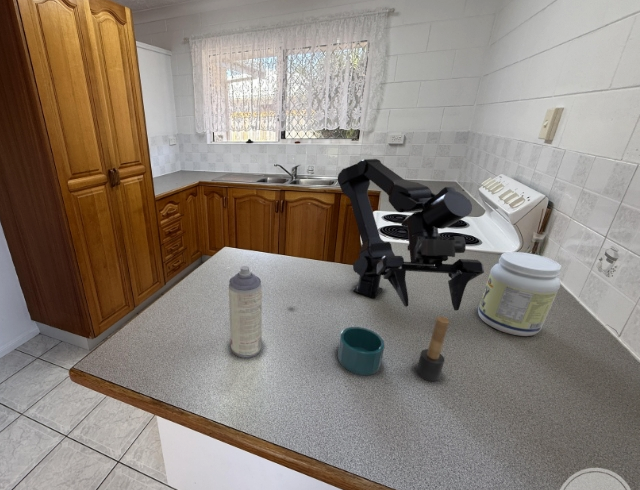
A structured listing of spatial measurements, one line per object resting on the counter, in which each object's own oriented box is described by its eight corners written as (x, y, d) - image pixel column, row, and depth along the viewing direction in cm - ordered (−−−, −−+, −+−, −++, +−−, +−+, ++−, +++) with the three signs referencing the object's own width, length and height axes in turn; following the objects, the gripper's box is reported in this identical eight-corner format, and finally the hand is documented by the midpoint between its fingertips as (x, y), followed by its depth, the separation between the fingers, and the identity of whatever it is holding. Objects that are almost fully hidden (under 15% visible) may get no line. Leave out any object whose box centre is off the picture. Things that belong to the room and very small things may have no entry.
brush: (419, 363, 65) (433, 310, 60) (441, 372, 62) (457, 318, 57) (414, 374, 62) (428, 320, 57) (436, 384, 59) (453, 329, 54)
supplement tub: (481, 303, 85) (501, 246, 78) (541, 321, 77) (568, 259, 70) (471, 322, 77) (491, 260, 70) (537, 345, 69) (566, 278, 62)
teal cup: (347, 342, 71) (350, 322, 69) (385, 358, 66) (390, 337, 64) (331, 362, 65) (333, 341, 63) (371, 382, 60) (375, 359, 58)
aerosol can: (255, 335, 74) (255, 259, 66) (265, 354, 68) (266, 273, 60) (228, 340, 72) (224, 263, 65) (234, 360, 66) (232, 277, 59)
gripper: (388, 218, 62) (393, 294, 56) (493, 221, 59) (510, 302, 53) (374, 241, 72) (377, 307, 67) (463, 245, 69) (474, 315, 63)
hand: (431, 308), depth 62 cm, fingers open, 9 cm apart
